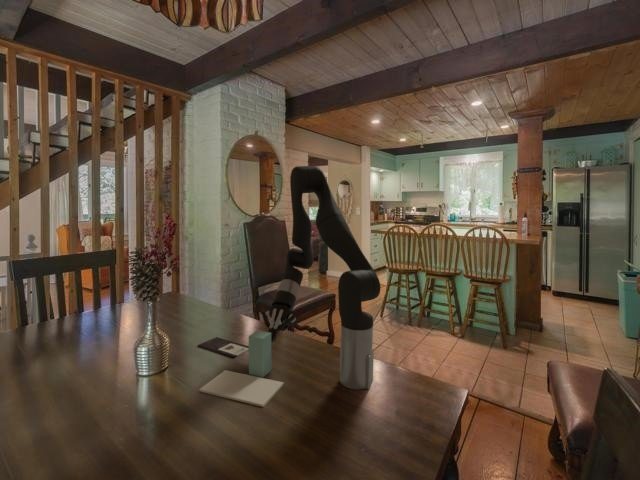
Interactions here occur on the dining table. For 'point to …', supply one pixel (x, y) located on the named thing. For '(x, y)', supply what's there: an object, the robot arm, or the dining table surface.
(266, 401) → the cream mat
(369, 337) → the robot arm
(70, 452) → the dining table surface
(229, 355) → the chocolate bar
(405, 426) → the dining table surface
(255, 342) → the teal block
